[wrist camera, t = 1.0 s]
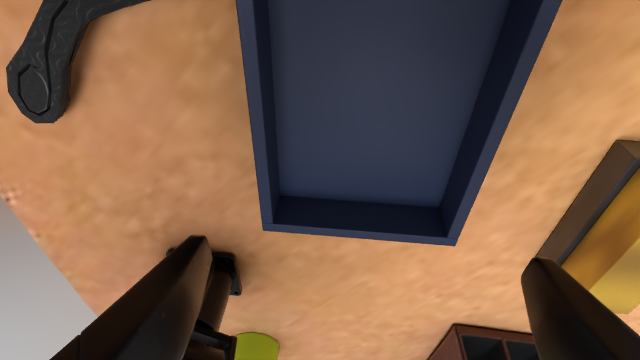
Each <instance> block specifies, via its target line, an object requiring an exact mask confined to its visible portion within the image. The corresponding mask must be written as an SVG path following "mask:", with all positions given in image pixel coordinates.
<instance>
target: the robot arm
mask: <svg viewBox="0 0 640 360" xmlns="http://www.w3.org/2000/svg"><path fill="white" fill-rule="evenodd" d="M166 256H167V257H165V258H164V259H163V260H162V261H161V262H160V263H159V264H158V265H156V266H155V267H154V268H153V269H152V270H151V271H150V272H149V273H147V274H146V275H145V276H144V277H143V278H142V279H141V280H140V281H138V282H137V283H136V284H135V285H134V286H133V287H132V288H131V289H129V290H128V291H127V292H126V293H125V294H124V295H123V296H122V297H120V298H119V299H118V300H117V301H116V302H115V303H114V304H112V305H111V306H110V307H109V308H108V309H107V310H106V311H105V312H103V313H102V314H101V315H100V316H99V317H98V318H97V319H96V320H95V321H94V322H92V323H91V324H90V325H89V326H88V327H87V328H85V329H84V330H83V331H82V332H81V335H78V336H76V337H75V338H74V339H73V340H72V341H71V342H70V343H68V344H67V345H66V346H65V347H64V348H63V349H62V350H60V351H59V352H58V353H57V354H56V355H55V356H53V357H52V358H51V359H50V360H234V359H235V352H236V345H237V337H235V336H229V335H226V334H223V333H220V332H218V331H219V327H220V324H221V321H222V318H223V315H224V312H225V308H226V305H227V302H228V299H229V296H230V295H236V296H239V295H241V293H242V287H241V282H240V278H239V273H238V268H237V263H236V259H235V256H234V255H232V254H227V253H215V252H211V249H210V246H209V243H208V240H207V238H206V237H205V236H203V235H191V236H189V237H188V238H187V239H186V240H185V241H183V242H182V243H181V244H180V245H179V246H178V247H177V248H176V249H168V251H167V253H166ZM521 284H522V289H523V294H524V299H525V303H526V308H527V313H528V318H529V322H530V327H531V331H532V335H533V339H534V342H535V346H536V349H537V352H538V355H539V358H540V360H640V336H639V335H638V334H637V333H636V332H635V331H634V330H632V329H631V328H630V327H629V326H628V325H627V324H626V323H624V322H623V321H622V320H621V319H620V318H619V317H618V316H616V315H615V314H614V313H613V312H612V311H611V310H610V309H609V308H607V307H606V306H605V305H604V304H603V303H602V302H601V301H599V300H598V299H597V298H596V297H595V296H594V295H593V294H591V293H590V292H589V291H588V290H587V289H586V288H585V287H584V286H582V285H581V284H580V283H579V282H578V281H577V280H576V279H574V278H573V277H572V276H571V275H570V274H569V273H568V272H566V271H565V270H564V269H563V268H562V267H561V266H560V265H559V264H557V263H556V262H555V261H554V260H552V259H551V258H546V257H534V258H532V259H531V261H530V262H529V264H528V265H527V267H526V269H525V270H524V272H523V273H522V276H521Z"/></svg>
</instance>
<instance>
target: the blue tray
mask: <svg viewBox="0 0 640 360" xmlns="http://www.w3.org/2000/svg"><path fill="white" fill-rule="evenodd" d="M561 2H562V0H236V6H237V15H238V23H239V32H240V40H241V49H242V57H243V66H244V74H245V83H246V91H247V100H248V108H249V116H250V125H251V133H252V142H253V150H254V159H255V167H256V176H257V184H258V193H259V201H260V210H261V218H262V227H263V231H275V232H287V233H299V234H312V235H324V236H336V237H348V238H361V239H373V240H385V241H398V242H410V243H422V244H434V245H447V246H455V245H456V243H457V240H458V238H459V236H460V233H461V231H462V229H463V226H464V224H465V222H466V220H467V217H468V215H469V213H470V210H471V208H472V206H473V204H474V201H475V199H476V197H477V194H478V192H479V190H480V188H481V185H482V183H483V181H484V178H485V176H486V174H487V172H488V169H489V167H490V165H491V162H492V160H493V158H494V156H495V153H496V151H497V149H498V146H499V144H500V142H501V140H502V137H503V135H504V133H505V130H506V128H507V126H508V124H509V121H510V119H511V117H512V114H513V112H514V110H515V108H516V105H517V103H518V101H519V98H520V96H521V94H522V92H523V89H524V87H525V85H526V82H527V80H528V78H529V76H530V73H531V71H532V69H533V66H534V64H535V62H536V60H537V57H538V55H539V53H540V50H541V48H542V46H543V44H544V41H545V39H546V37H547V34H548V32H549V30H550V28H551V25H552V23H553V21H554V18H555V16H556V14H557V12H558V9H559V7H560V5H561Z"/></svg>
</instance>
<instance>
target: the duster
mask: <svg viewBox="0 0 640 360" xmlns="http://www.w3.org/2000/svg"><path fill="white" fill-rule="evenodd" d="M536 257H546V258H551V259H552V260H554V261H555V262H556V263H557V264H559V265H560V266H561V267H562V268H563V269H564V270H565V271H566V272H568V273H569V274H570V275H571V276H572V277H573V278H574V279H576V280H577V281H578V282H579V283H580V284H581V285H582V286H584V287H585V288H586V289H587V290H588V291H589V292H590V293H591V294H593V295H594V296H595V297H596V298H597V299H598V300H599V301H601V302H602V303H603V304H604V305H605V306H606V307H607V308H609V309H610V310H611V311H612V312H613V313H619V314H628V313H629V312H631V311H632V310H633V309H634V308H635V307H636V306H638V305H639V304H640V142H634V141H619V140H617V141H616V142H615V143H614V145H613V146H612V148H611V149H610V151H609V152H608V153H607V155H606V156H605V158H604V159H603V161H602V162H601V163H600V165H599V166H598V168H597V169H596V171H595V172H594V174H593V175H592V176H591V178H590V179H589V181H588V182H587V184H586V185H585V186H584V188H583V189H582V191H581V192H580V194H579V195H578V197H577V198H576V199H575V201H574V202H573V204H572V205H571V207H570V208H569V209H568V211H567V212H566V214H565V215H564V217H563V218H562V220H561V221H560V222H559V224H558V225H557V227H556V228H555V230H554V231H553V232H552V234H551V235H550V237H549V238H548V240H547V241H546V243H545V244H544V245H543V247H542V248H541V250H540V251H539V253H538V254H537V256H536Z"/></svg>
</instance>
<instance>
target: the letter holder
mask: <svg viewBox="0 0 640 360" xmlns="http://www.w3.org/2000/svg"><path fill="white" fill-rule="evenodd" d="M429 360H540V358H539V355H538V352H537V349H536V346H535V342H534V339H533V335H527V334H520V333H513V332H505V331H498V330H491V329H484V328H476V327H468V326H461V325H454V326H453V328H452V329H451V331H450V332H449V334H448V335H447V336H446V338H445V339H444V340H443V342H442V343H441V344H440V346H439V347H438V348H437V350H436V351H435V352H434V353H433V355H432V356H431V357H430V358H429Z"/></svg>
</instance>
